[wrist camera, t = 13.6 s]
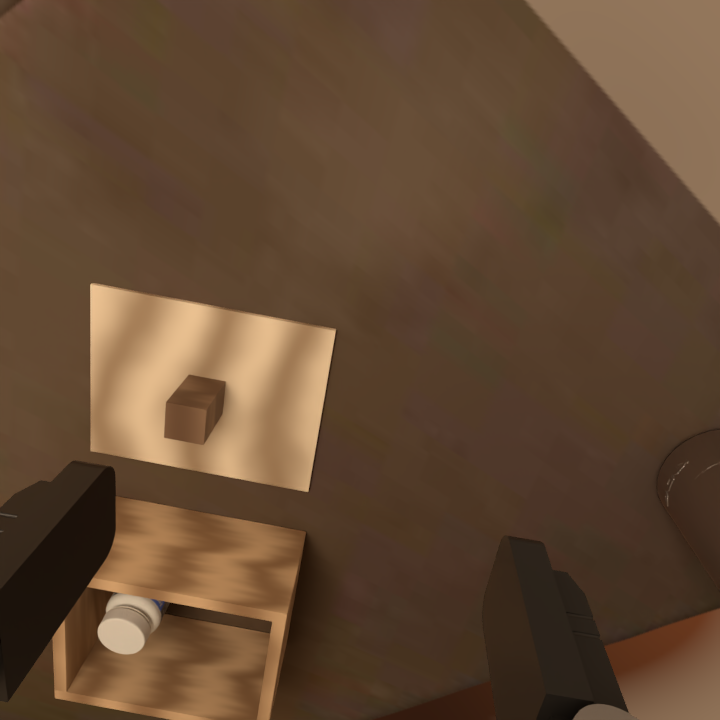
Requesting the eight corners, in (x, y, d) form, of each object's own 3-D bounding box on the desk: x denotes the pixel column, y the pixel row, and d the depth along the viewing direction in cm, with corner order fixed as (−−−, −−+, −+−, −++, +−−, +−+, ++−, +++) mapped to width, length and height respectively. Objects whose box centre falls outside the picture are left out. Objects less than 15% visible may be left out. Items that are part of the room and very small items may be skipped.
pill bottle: (192, 558, 55) (158, 630, 47) (174, 591, 57) (138, 667, 49) (145, 537, 55) (102, 606, 47) (128, 571, 56) (84, 644, 49)
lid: (337, 326, 46) (327, 355, 41) (309, 485, 52) (298, 529, 46) (96, 280, 46) (54, 303, 41) (96, 444, 52) (59, 484, 46)
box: (306, 531, 53) (287, 614, 44) (286, 644, 59) (266, 737, 50) (108, 494, 53) (50, 569, 44) (107, 610, 58) (54, 698, 50)
